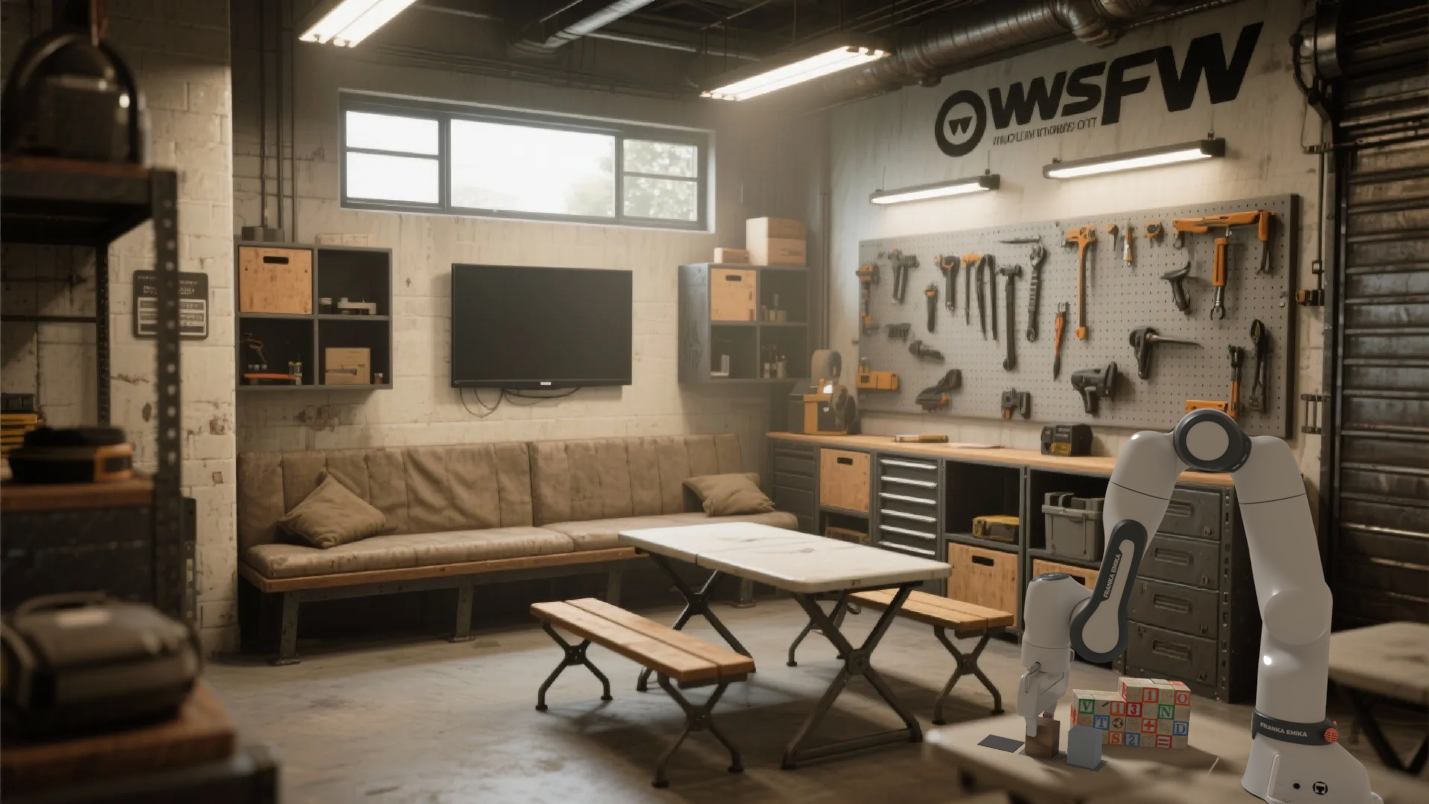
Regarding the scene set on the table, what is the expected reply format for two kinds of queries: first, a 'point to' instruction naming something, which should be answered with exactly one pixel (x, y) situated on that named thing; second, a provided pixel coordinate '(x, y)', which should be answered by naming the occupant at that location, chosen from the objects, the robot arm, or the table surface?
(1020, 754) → the code tile
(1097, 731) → the slate-blue block
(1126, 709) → the stack of blocks
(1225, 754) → the table surface
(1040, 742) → the walnut block
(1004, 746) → the rubber mat
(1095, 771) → the code tile
